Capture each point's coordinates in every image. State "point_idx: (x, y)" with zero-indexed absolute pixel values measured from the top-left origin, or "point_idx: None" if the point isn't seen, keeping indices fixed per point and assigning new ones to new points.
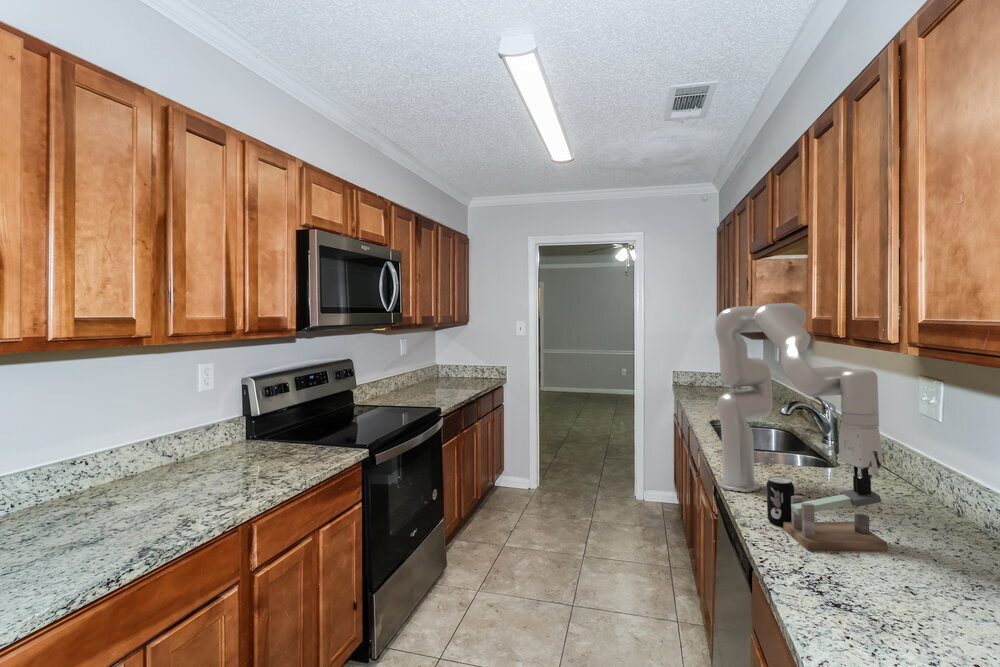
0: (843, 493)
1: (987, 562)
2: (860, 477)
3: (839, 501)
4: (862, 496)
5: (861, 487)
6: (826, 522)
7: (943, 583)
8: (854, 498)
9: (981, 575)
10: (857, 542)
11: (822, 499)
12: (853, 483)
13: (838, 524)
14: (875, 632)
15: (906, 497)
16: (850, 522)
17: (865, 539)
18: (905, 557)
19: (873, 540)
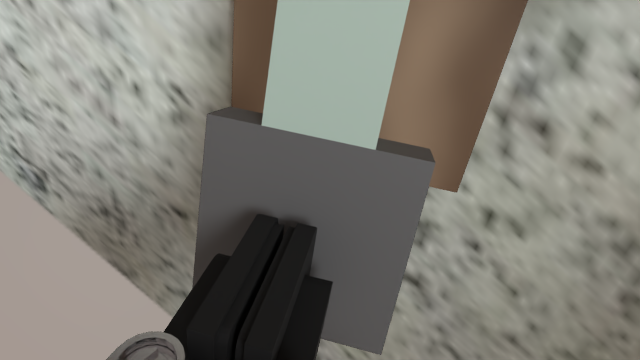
0: (386, 163)
1: (173, 311)
2: (122, 345)
3: (280, 16)
4: (244, 219)
5: (220, 271)
6: (503, 39)
7: (30, 104)
8: (242, 147)
9: (99, 239)
10: (235, 10)
11: None
12: (296, 279)
13: (454, 86)
14: None
15: None
16: (457, 165)
17: (264, 76)
18: (194, 145)
19: (251, 103)
